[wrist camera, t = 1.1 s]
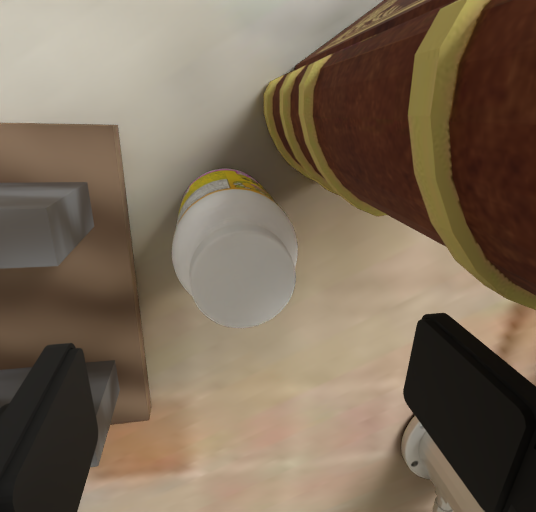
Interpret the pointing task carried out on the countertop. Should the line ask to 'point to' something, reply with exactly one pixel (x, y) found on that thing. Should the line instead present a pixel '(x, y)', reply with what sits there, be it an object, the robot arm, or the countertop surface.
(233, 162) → the countertop surface
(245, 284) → the supplement bottle
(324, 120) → the decorative book
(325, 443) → the countertop surface
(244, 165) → the countertop surface
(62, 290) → the stand
